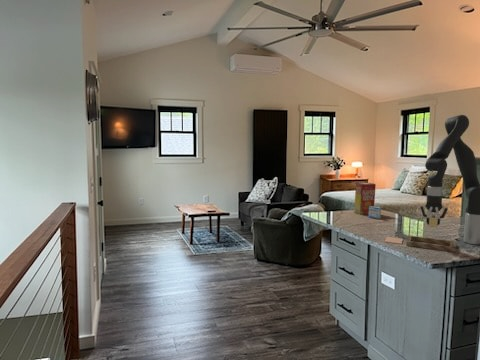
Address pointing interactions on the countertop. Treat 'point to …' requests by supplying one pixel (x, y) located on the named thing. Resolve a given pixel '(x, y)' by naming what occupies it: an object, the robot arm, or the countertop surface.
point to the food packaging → (364, 197)
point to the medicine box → (375, 212)
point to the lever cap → (433, 221)
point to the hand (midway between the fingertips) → (432, 224)
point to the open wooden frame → (431, 246)
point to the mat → (394, 240)
